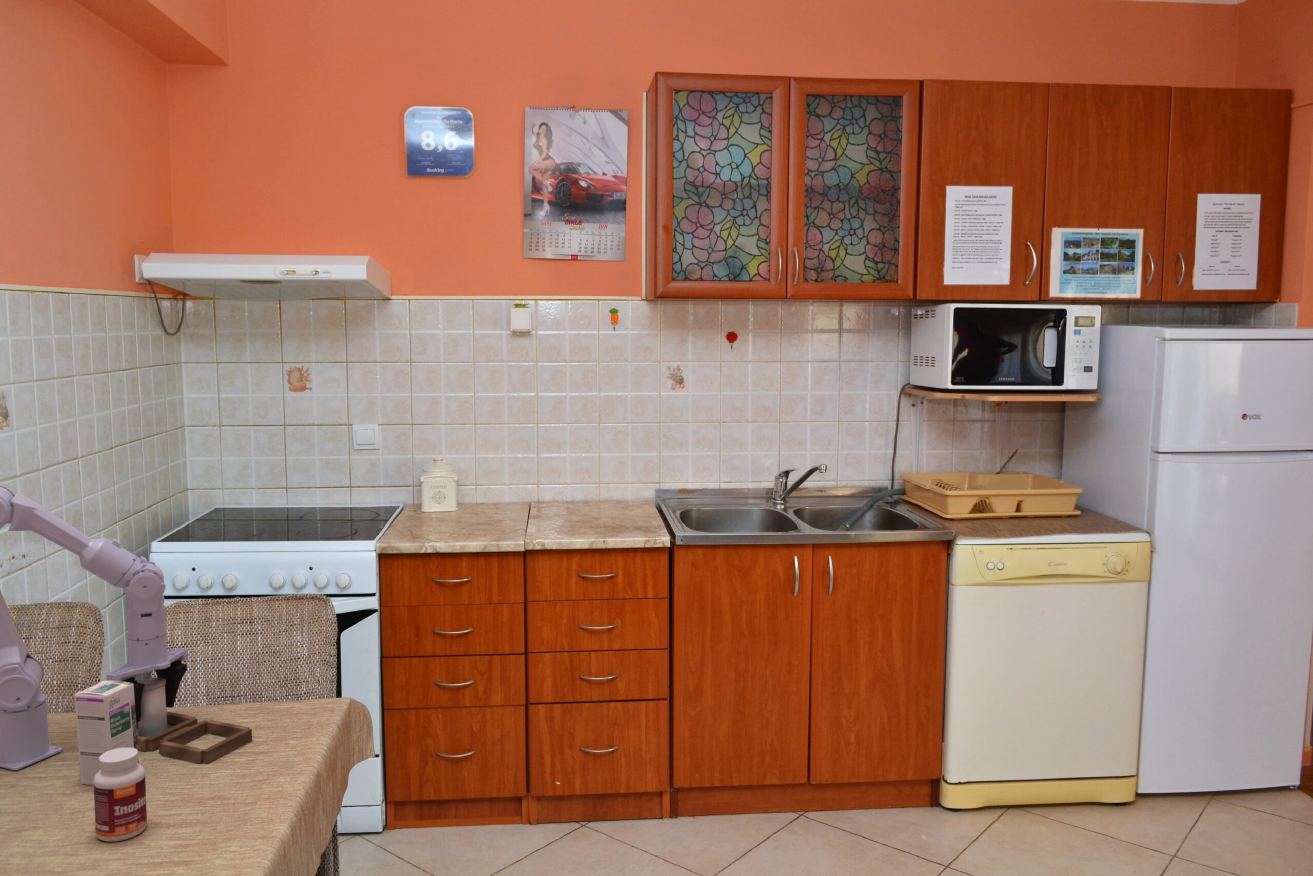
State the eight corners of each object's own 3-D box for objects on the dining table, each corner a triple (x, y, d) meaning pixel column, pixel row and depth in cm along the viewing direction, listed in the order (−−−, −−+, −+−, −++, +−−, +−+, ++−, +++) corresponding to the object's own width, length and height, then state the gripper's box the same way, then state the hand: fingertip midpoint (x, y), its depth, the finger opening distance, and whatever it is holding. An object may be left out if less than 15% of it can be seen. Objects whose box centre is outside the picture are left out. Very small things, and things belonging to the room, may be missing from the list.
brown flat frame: (102, 742, 159) (102, 731, 159) (155, 720, 169) (155, 709, 169) (205, 765, 151) (204, 753, 151) (254, 739, 161) (254, 728, 161)
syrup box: (112, 788, 143) (107, 695, 142) (78, 784, 144) (73, 692, 143) (140, 771, 149) (135, 681, 147) (107, 768, 150) (102, 678, 148)
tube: (130, 737, 161) (127, 685, 160) (154, 727, 165) (151, 676, 164) (151, 741, 159) (148, 688, 158) (175, 730, 163) (172, 679, 163)
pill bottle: (118, 847, 127) (114, 768, 126) (85, 838, 129) (80, 760, 128) (158, 825, 132) (154, 749, 131) (125, 817, 135) (121, 742, 134)
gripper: (127, 651, 152) (131, 733, 154) (200, 626, 166) (203, 701, 167) (95, 646, 155) (99, 726, 156) (169, 621, 168) (173, 696, 170)
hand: (151, 713), depth 162 cm, fingers open, 6 cm apart
